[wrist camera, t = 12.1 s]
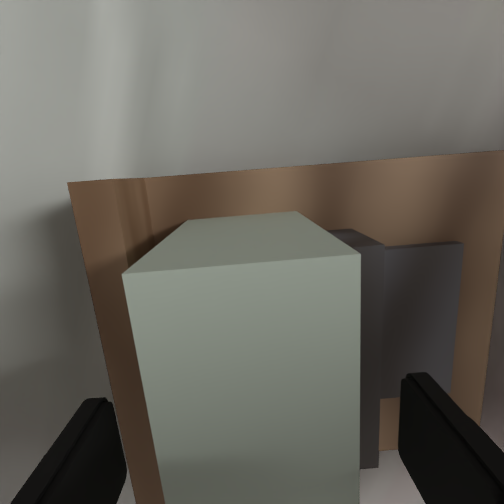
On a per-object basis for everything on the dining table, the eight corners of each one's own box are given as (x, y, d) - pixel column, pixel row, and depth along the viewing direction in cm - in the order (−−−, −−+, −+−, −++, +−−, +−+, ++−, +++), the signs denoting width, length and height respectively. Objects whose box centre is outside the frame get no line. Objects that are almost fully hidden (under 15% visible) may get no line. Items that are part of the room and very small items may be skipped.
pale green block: (296, 210, 14) (361, 253, 6) (306, 427, 17) (358, 636, 9) (187, 219, 14) (121, 274, 6) (215, 435, 17) (193, 652, 9)
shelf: (487, 151, 15) (601, 140, 10) (459, 421, 19) (533, 505, 14) (123, 180, 15) (67, 182, 10) (169, 447, 19) (144, 540, 14)
